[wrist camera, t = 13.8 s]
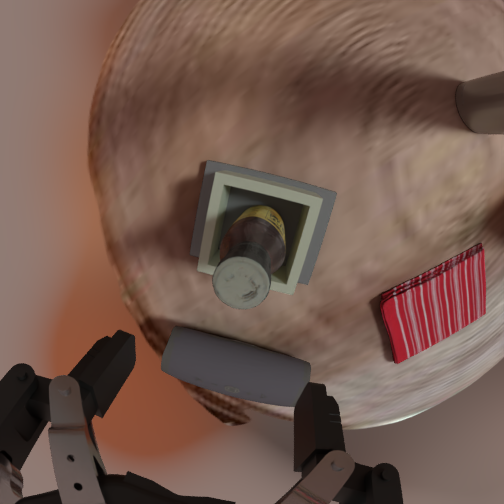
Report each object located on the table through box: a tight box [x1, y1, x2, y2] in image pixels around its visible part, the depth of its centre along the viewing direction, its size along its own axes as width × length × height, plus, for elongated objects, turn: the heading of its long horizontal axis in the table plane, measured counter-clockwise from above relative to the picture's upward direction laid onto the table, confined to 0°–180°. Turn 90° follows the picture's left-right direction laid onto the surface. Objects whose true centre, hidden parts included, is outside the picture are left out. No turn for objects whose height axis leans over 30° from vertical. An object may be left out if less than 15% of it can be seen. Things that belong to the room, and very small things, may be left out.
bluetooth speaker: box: [161, 326, 311, 407], centre depth 41 cm, size 23×9×10 cm, turn 74°
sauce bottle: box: [212, 205, 286, 309], centre depth 28 cm, size 6×6×20 cm
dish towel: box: [380, 243, 486, 364], centre depth 39 cm, size 17×24×3 cm
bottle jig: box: [190, 160, 337, 295], centre depth 35 cm, size 18×14×7 cm
